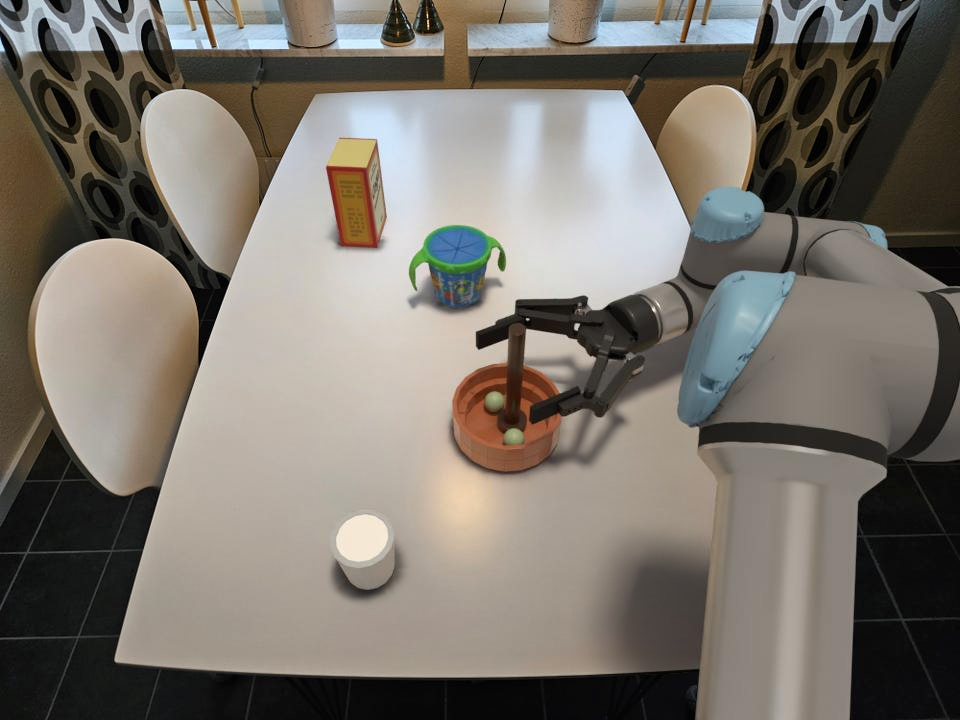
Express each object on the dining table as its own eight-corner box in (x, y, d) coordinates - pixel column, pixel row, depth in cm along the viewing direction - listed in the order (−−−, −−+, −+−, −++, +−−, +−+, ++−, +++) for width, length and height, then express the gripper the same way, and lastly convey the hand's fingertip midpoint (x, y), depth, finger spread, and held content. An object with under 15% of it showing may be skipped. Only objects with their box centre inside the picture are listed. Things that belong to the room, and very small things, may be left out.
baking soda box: (352, 215, 121) (338, 135, 109) (386, 216, 121) (376, 137, 109) (341, 246, 115) (325, 165, 103) (377, 247, 114) (365, 166, 103)
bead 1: (500, 417, 89) (495, 412, 86) (483, 408, 90) (478, 403, 87) (510, 399, 89) (505, 394, 87) (493, 391, 90) (488, 385, 88)
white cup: (375, 527, 77) (367, 497, 72) (412, 566, 74) (407, 537, 69) (328, 565, 74) (316, 536, 69) (365, 608, 71) (355, 580, 66)
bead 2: (511, 457, 84) (499, 443, 82) (510, 445, 86) (498, 430, 85) (529, 447, 83) (517, 432, 82) (528, 435, 85) (516, 420, 84)
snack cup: (496, 267, 111) (498, 217, 103) (513, 308, 104) (515, 257, 96) (406, 281, 108) (401, 231, 101) (417, 323, 101) (412, 273, 94)
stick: (513, 441, 85) (519, 346, 72) (490, 424, 87) (492, 329, 74) (532, 423, 87) (542, 328, 74) (510, 407, 89) (515, 312, 76)
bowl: (528, 491, 81) (530, 467, 77) (433, 444, 86) (431, 419, 82) (576, 414, 89) (580, 388, 85) (487, 375, 94) (487, 349, 90)
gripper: (698, 403, 81) (554, 470, 74) (586, 286, 96) (458, 333, 89) (714, 362, 75) (560, 431, 69) (593, 246, 90) (456, 292, 83)
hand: (502, 376), depth 79 cm, fingers open, 13 cm apart
